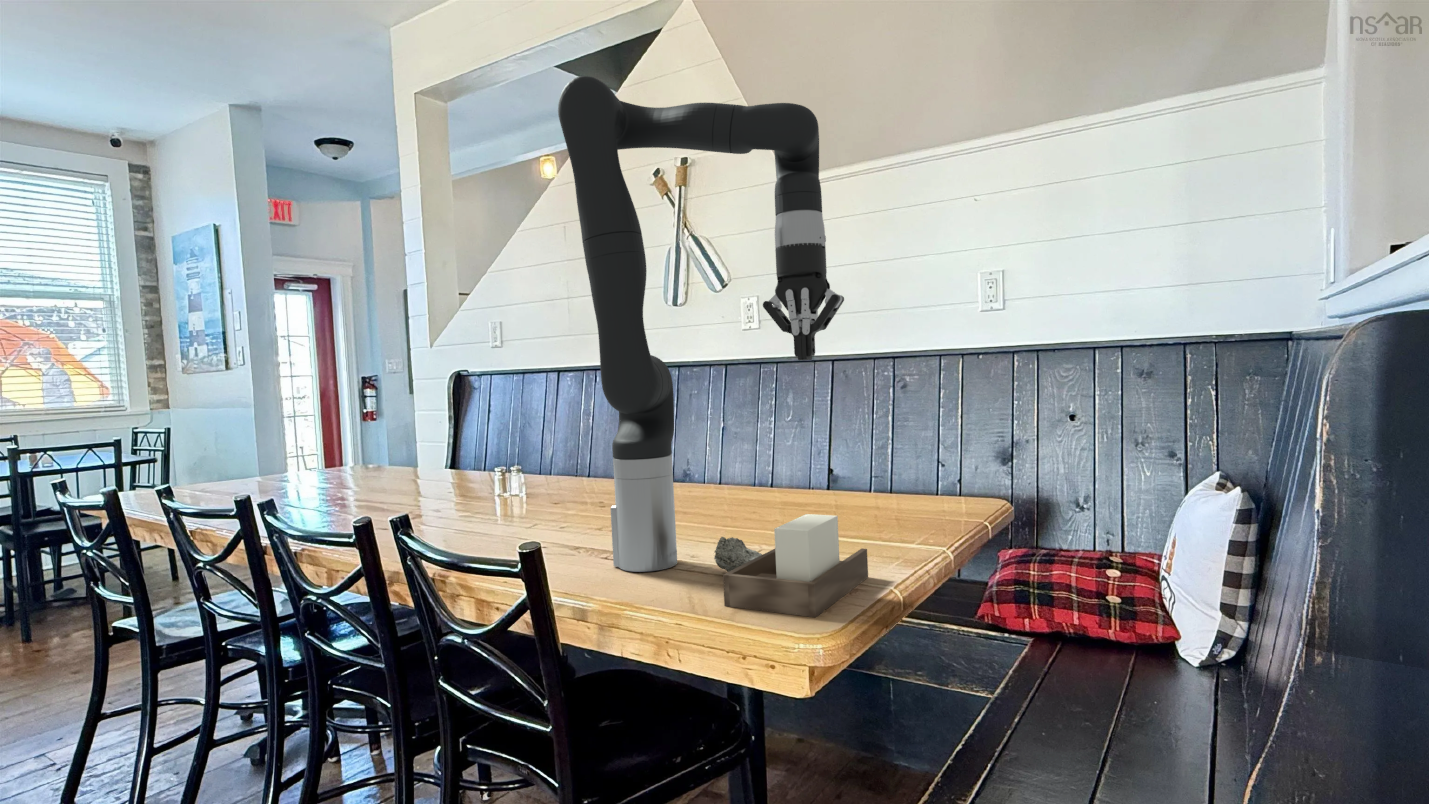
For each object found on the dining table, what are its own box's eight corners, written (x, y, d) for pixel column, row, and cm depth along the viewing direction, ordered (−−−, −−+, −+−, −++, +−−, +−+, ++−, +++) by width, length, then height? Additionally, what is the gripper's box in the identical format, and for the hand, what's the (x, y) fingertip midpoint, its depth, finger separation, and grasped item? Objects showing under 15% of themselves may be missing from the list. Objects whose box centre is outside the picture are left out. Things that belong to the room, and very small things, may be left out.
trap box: (724, 605, 98) (722, 574, 98) (787, 569, 115) (786, 542, 114) (815, 617, 92) (814, 584, 92) (868, 577, 108) (867, 548, 108)
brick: (777, 592, 96) (774, 528, 96) (808, 572, 105) (806, 514, 104) (810, 596, 94) (807, 530, 94) (840, 575, 102) (837, 515, 102)
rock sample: (775, 556, 107) (739, 511, 112) (734, 593, 107) (700, 546, 112) (796, 571, 116) (762, 528, 121) (759, 604, 116) (726, 561, 121)
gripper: (749, 247, 116) (755, 362, 117) (832, 236, 109) (837, 358, 110) (771, 253, 123) (776, 362, 123) (850, 242, 116) (855, 357, 116)
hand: (805, 360), depth 117 cm, fingers closed
